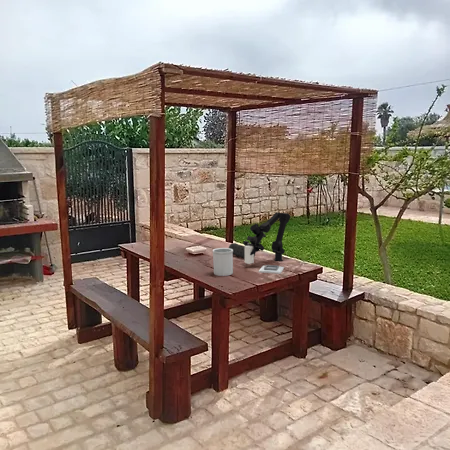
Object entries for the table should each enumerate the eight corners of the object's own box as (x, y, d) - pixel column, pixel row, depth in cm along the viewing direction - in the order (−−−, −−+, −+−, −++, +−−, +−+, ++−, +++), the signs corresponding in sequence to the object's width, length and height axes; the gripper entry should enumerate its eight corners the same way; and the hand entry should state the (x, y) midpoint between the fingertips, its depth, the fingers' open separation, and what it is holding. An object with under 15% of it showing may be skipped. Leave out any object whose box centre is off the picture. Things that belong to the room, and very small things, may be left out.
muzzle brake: (246, 261, 349) (246, 248, 347) (227, 255, 372) (227, 243, 371) (255, 259, 354) (255, 247, 353) (236, 253, 377) (236, 242, 376)
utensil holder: (215, 277, 303) (215, 252, 300) (210, 271, 317) (210, 248, 314) (235, 275, 307) (235, 251, 304) (229, 270, 321) (229, 247, 318)
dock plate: (263, 267, 329) (263, 263, 329) (283, 268, 325) (283, 264, 325) (258, 272, 314) (258, 268, 314) (280, 273, 310) (280, 270, 309)
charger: (249, 261, 333) (249, 244, 330) (253, 262, 329) (253, 246, 327) (244, 262, 329) (244, 245, 327) (249, 263, 326) (249, 247, 323)
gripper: (244, 230, 335) (234, 246, 330) (261, 233, 321) (251, 250, 316) (251, 239, 341) (241, 254, 336) (268, 242, 327) (258, 258, 322)
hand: (247, 254), depth 327 cm, fingers closed on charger, 5 cm apart
